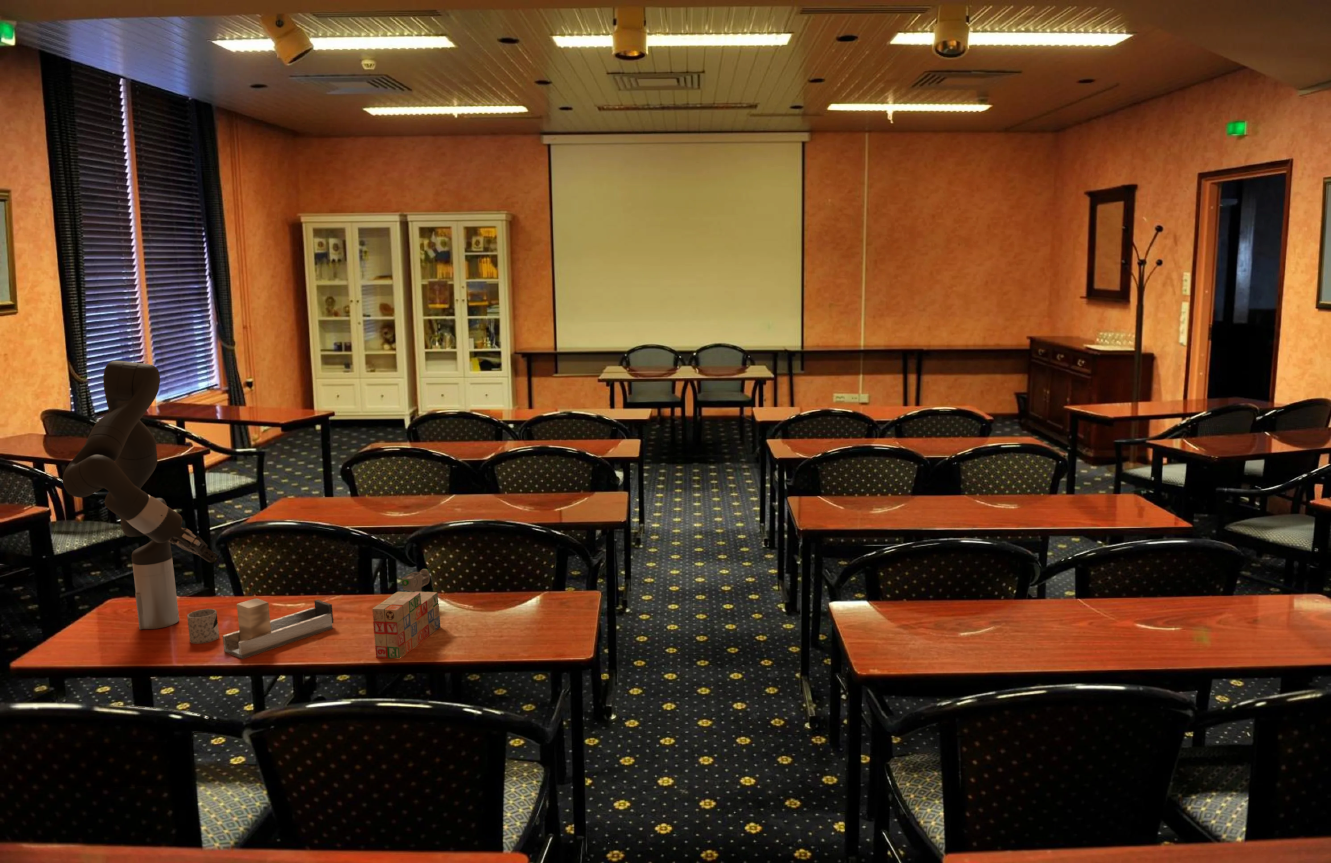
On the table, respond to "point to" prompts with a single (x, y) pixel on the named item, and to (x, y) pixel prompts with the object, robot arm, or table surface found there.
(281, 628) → the chute
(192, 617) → the mug
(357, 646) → the table surface
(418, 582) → the mechanical component
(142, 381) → the robot arm
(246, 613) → the birch block
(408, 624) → the stack of blocks
